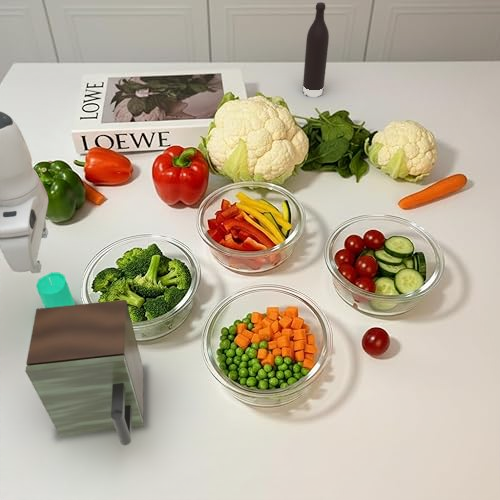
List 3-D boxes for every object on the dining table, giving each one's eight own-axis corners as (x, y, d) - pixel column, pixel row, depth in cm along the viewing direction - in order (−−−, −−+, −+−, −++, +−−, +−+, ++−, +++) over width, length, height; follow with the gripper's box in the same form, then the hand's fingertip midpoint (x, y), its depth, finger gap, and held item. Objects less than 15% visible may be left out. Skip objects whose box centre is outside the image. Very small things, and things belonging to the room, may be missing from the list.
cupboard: (143, 420, 101) (124, 353, 85) (61, 430, 100) (26, 363, 84) (143, 370, 109) (126, 299, 93) (67, 378, 107) (36, 308, 92)
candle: (77, 301, 121) (64, 265, 113) (77, 323, 117) (63, 286, 108) (49, 306, 120) (34, 269, 112) (48, 327, 116) (32, 291, 108)
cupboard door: (143, 460, 95) (122, 396, 80) (55, 471, 94) (18, 409, 79) (143, 421, 101) (124, 355, 85) (60, 431, 99) (26, 365, 84)
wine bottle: (325, 90, 188) (335, 1, 167) (319, 100, 183) (328, 10, 162) (306, 86, 190) (313, -2, 169) (299, 96, 185) (306, 6, 164)
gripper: (9, 163, 102) (31, 218, 112) (-13, 238, 88) (14, 293, 97) (44, 160, 102) (63, 215, 112) (27, 234, 88) (50, 290, 98)
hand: (40, 252), depth 105 cm, fingers open, 8 cm apart
